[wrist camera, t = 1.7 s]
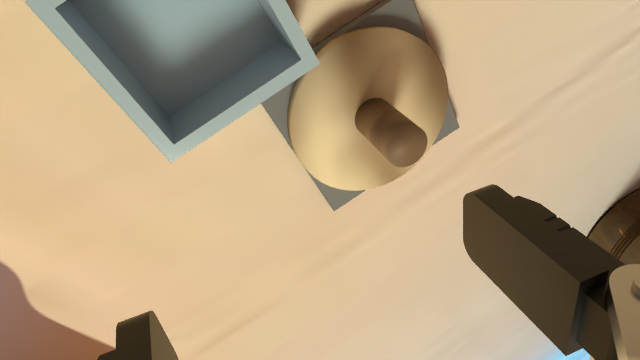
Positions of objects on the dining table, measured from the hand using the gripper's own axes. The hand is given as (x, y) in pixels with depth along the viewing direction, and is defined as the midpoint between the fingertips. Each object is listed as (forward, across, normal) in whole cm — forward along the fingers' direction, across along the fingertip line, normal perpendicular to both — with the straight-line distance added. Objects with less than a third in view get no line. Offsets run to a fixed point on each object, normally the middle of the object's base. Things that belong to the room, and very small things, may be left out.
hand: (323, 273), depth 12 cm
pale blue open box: (+21, +1, -2) cm, 21 cm away
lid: (+20, -10, +7) cm, 24 cm away
